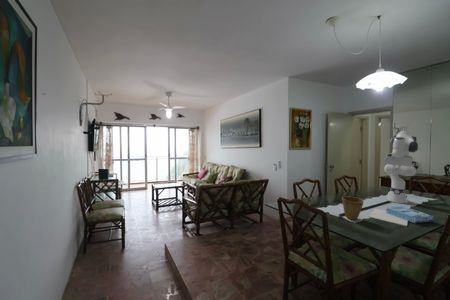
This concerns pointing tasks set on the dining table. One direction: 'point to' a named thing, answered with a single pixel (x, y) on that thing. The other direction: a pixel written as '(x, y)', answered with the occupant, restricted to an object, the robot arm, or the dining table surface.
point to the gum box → (409, 214)
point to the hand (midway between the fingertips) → (396, 170)
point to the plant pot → (352, 207)
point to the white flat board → (387, 217)
